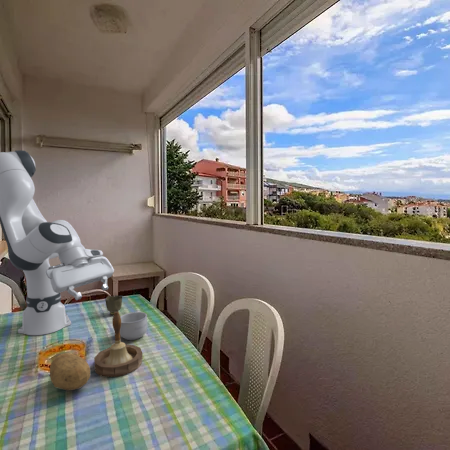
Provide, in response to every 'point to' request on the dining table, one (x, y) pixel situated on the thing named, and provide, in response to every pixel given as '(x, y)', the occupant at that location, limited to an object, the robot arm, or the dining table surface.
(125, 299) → the dining table surface
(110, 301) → the cup
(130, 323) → the teacup
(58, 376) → the potato
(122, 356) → the hand bell
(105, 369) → the tray
